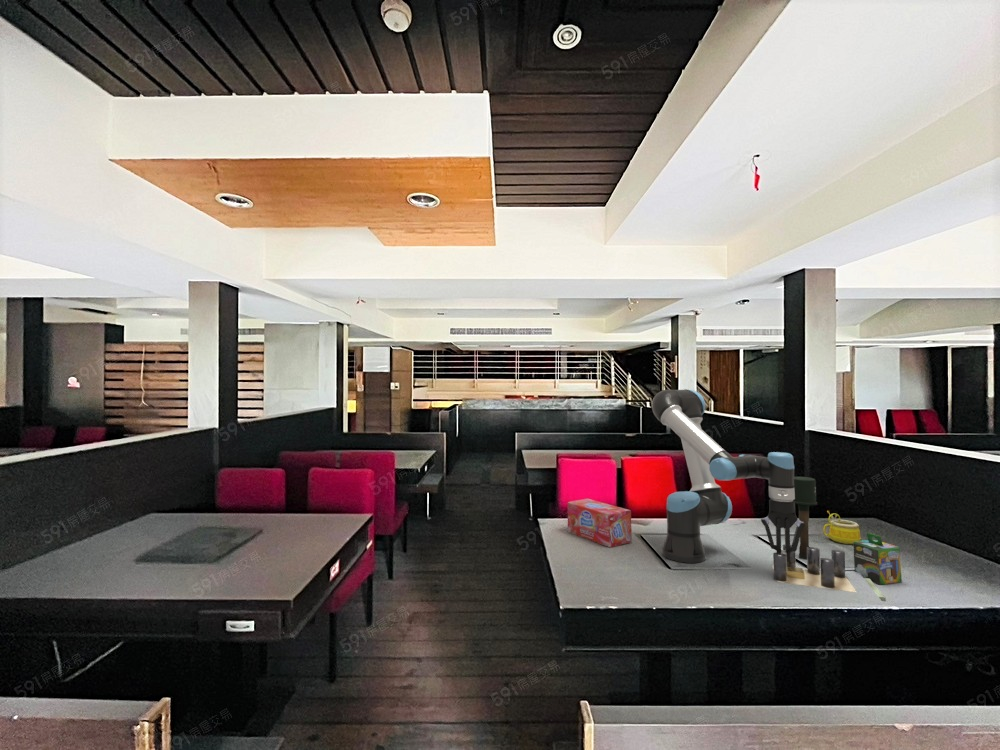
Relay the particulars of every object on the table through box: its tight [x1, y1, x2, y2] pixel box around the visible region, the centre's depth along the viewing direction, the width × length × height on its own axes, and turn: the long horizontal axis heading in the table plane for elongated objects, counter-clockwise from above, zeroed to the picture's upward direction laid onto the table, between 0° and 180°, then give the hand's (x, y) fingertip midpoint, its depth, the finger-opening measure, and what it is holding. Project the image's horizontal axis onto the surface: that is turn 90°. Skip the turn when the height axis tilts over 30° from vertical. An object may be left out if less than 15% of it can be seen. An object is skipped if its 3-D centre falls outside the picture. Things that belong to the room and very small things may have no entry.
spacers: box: [772, 543, 846, 589], centre depth 159 cm, size 22×15×8 cm
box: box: [567, 498, 633, 548], centre depth 209 cm, size 27×13×14 cm, turn 31°
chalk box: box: [852, 532, 903, 586], centre depth 162 cm, size 9×9×15 cm
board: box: [771, 564, 887, 602], centre depth 158 cm, size 28×16×1 cm, turn 66°
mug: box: [822, 510, 862, 545], centre depth 203 cm, size 13×11×12 cm
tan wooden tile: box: [787, 567, 805, 579], centre depth 161 cm, size 4×4×2 cm
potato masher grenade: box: [793, 476, 818, 560], centre depth 180 cm, size 8×9×30 cm
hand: (783, 571), depth 162 cm, fingers closed
